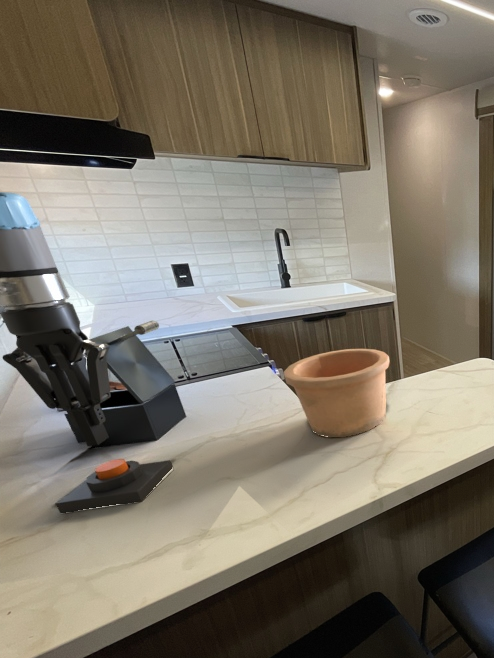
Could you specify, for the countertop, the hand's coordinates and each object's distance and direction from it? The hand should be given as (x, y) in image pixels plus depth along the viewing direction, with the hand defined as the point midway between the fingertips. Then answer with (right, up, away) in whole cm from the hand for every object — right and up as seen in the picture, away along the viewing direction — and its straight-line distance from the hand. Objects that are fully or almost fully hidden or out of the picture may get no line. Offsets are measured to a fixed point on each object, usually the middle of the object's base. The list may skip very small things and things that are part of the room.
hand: (98, 441), depth 69 cm
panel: (+1, -9, +4) cm, 10 cm away
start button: (0, -6, +2) cm, 6 cm away
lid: (-13, +14, +20) cm, 28 cm away
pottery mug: (-38, +3, +42) cm, 57 cm away
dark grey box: (-16, -2, +25) cm, 30 cm away
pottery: (+34, +1, +25) cm, 42 cm away
